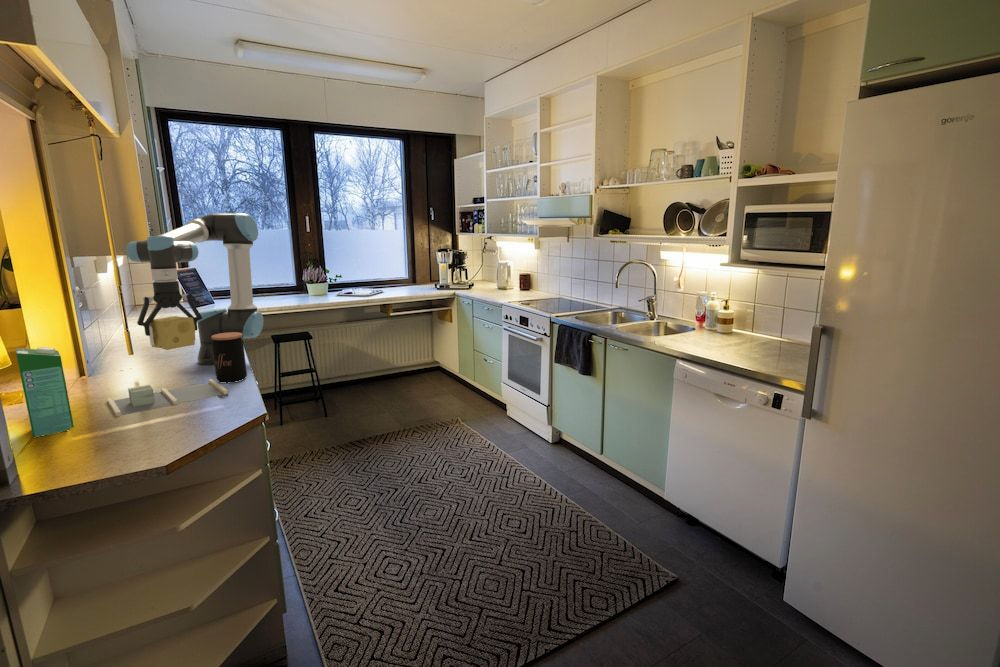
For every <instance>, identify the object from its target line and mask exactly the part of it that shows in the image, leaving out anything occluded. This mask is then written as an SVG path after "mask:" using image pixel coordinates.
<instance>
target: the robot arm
mask: <svg viewBox="0 0 1000 667" xmlns="http://www.w3.org/2000/svg"><path fill="white" fill-rule="evenodd" d="M257 225H258V224H257V222H256V220H255V219H254V217H252V215H251V214H248V213H242V212H232V213H230V212H229V213H228V212H227V213H224V212H221V213H219V212H218V213H217V212H216V213H208V214H206V215H203V216H199V217H196V218H194V219H192V220H189V221H188V222H187V223H186V224H185V225H182V226H180V227H177V228H174V229H173V230H169V231H167V232H165V233H161V234H158V235H149V236H147V239H146V240H145V239H144V240H136V241H130V242H128V243H127V245H126V247H125V250H126V252H125V253H126V255H127V257H128V259H129V260H130V261H132V262H134V263H149V264H150V273H151V279H152V281H154V282H152V287H153V288H152V289H153V295H152V296H144V297H143V305H142V308H141V311H140V314H139V316H138V319H137V321H136V324H137V325H138V326H141V327H143V329H144V335H145V336H147V337H149V343H150V345H151V346H152V345H154V339H153V331H152V326H149V325H150V323H151V322H152V321H153V319H156V316H157V315H158V313H159V312H160V311H161V310H162V309H168V308H174V309H175V308H176V307H177V308H178V309H179V310H180V311H181V312H182V313H183V314H184V315H185V316H187V317H192V318H193V320H194V325H195V332H196V331H198V337H199V344H200V346H199V350H198V355H197V362H198V364H200V365H215V364H214V356H213V347H212V342H213V339H212V338H211V336H212V335H215V334H220V333H228V332H239V333H242V337H241V338H242V339H254V338H257V337H258V336H259V335H260V334H261V332H262V330H263V327H264V316H263V314H262V312H260V311H258V306H256V305H255V304H254V302H253V301H254V299H253V298H254V297H253V283H252V269H251V268H252V267H251V254H250V253H251V252H250V249H251V248H252V247H253V246H254V242H255V241H256V240H257V239H258V236H259V229H258V226H257ZM208 241H209V242H210V241H215V242H216V241H219V242H220V241H221V242H222V245H223V246H224V247H225V248H226V249H227V261H228V262H227V263H228V276H229V290H230V305H229V306H228V307H227V308H226V307H221V308H214V309H207V310H203V311H202V310H201V311H200V312H199V309H198V308H197V307H196V305H195V303H194V301H193V300H192V295H191V294H189V293H185V294H181V291H180V285H179V284H180V283H179V280H178V279H179V277H178V269H177V268H178V267H177V263H189V262H193V261H194V260H196V259H197V258H198V257H199V248H198V246H197V245H196V243H200V244H201V243H204V242H208ZM181 300H184V301H186V303H187V304H188V306H189V307H190V308H191V311H192V312H193V314H194V315H195V316H194V315H193V314H192V313H190V312H189V311H188V310H187V309H186V308H185V307H184V306H183V304H181V303H180V302H181ZM153 301H154V302H155V303H156V305H155V307H154V308H153V310H152V311H151V312H150V314H149V316H148V317H147V319H146V320H145V318H146V315H147V312H148V309H149V306H150V304H152V302H153ZM196 340H197V339H196V338H195V341H196Z"/></svg>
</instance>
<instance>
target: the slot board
mask: <svg viewBox="0 0 1000 667" xmlns="http://www.w3.org/2000/svg"><path fill="white" fill-rule="evenodd" d="M223 396H226V397H228V396H229V392H228V389H227V388H226V387H224V386H223V385H221V384H220V383H218V382H217V380H216V381H215V379H213V378H209V379H208V382H205V383H200V384H194V385H187V386H183V387H179V388H174V389H167V388H166V387H161V388H160V391H157V392H154V399H155V403H151V404H146V405H141V406H136V407H133V406H132V404H131V403H130V398H129V397H124V398H120V399H113V397H107V398H106V400H107V402H108V404H109V406H110V408H111V410H112V412H113V413H114V415H115V416H116V417H120V416H126V415H130V414H136V413H141V412H144V411H145V412H146V411H149V410H150V411H151V410H155V409H159V408H164V407H168V406H175V405H178V404H179V405H180V404H183V403H184V404H185V403H189V402H193V401H198V400H203V399H208V398H212V397H213V398H214V397H217V398H219V397H221V398H224V397H223Z"/></svg>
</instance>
